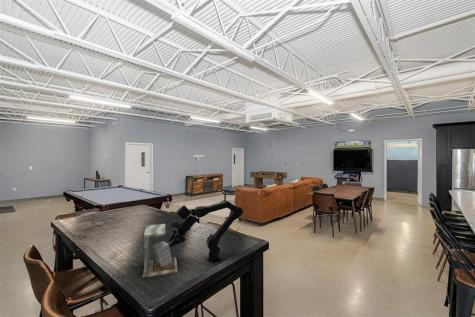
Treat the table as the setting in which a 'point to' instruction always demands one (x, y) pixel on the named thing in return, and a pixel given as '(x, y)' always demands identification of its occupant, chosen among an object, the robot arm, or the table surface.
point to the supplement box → (162, 254)
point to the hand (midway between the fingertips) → (169, 243)
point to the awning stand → (151, 266)
